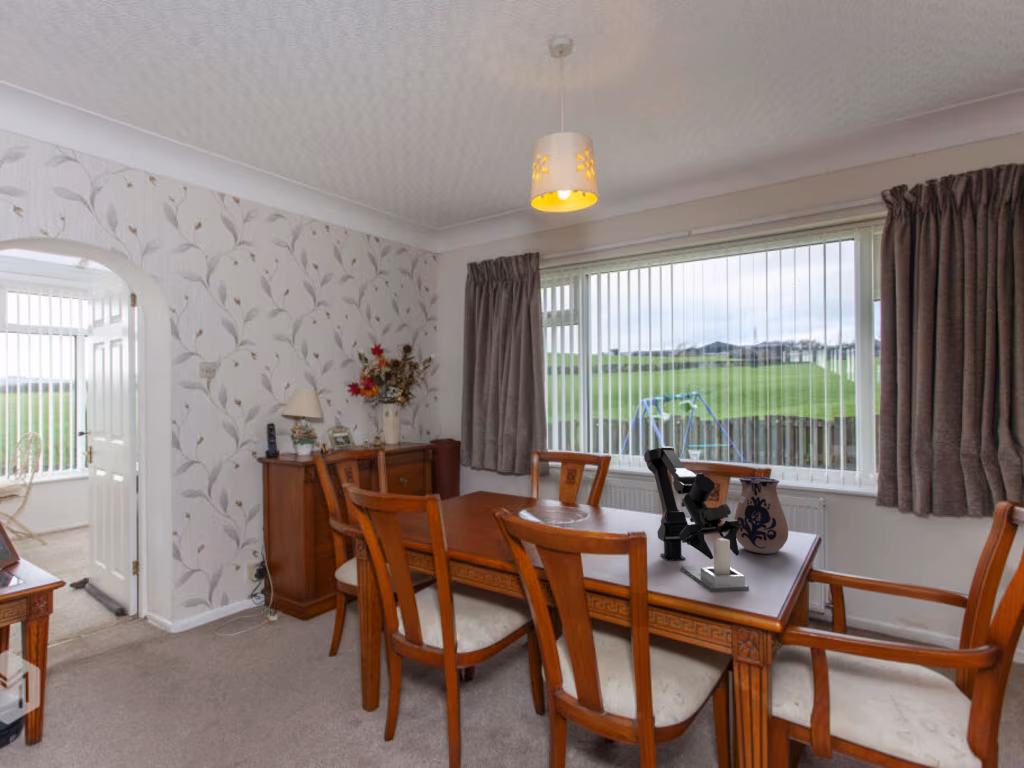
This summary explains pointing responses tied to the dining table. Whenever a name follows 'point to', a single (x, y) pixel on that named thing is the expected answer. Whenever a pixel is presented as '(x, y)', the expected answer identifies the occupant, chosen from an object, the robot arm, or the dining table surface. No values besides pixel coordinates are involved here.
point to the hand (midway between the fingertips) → (725, 556)
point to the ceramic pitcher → (760, 516)
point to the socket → (716, 578)
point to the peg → (721, 556)
